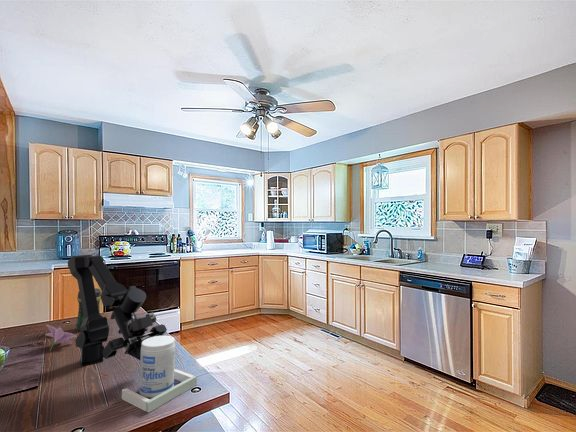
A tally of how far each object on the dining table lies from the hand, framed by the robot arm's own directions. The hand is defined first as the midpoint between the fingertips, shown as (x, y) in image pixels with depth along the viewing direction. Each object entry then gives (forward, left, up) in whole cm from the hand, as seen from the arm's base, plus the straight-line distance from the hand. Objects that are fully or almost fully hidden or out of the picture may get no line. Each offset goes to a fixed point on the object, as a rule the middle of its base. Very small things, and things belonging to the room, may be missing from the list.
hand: (148, 363), depth 94 cm
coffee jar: (-5, +73, -7) cm, 74 cm away
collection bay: (+2, -6, -7) cm, 9 cm away
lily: (-18, +55, -7) cm, 58 cm away
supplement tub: (+1, -4, -7) cm, 8 cm away
